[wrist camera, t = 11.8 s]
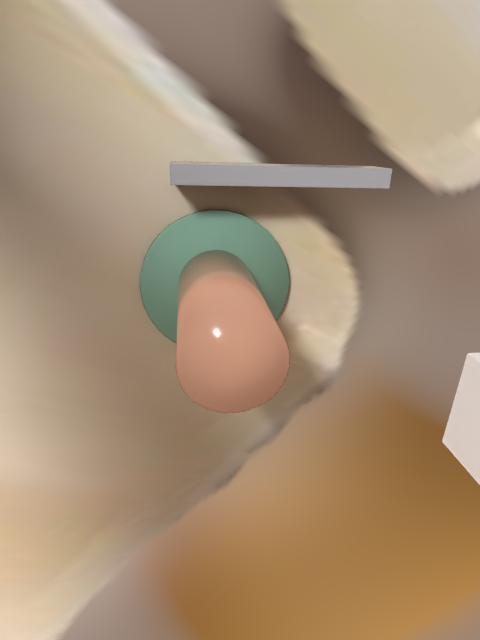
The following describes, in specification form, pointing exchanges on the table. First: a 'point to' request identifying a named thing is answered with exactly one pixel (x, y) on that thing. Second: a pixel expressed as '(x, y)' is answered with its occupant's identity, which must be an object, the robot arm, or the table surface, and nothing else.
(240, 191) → the table surface
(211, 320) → the peach rounded cylinder
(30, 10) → the table surface
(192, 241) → the pad
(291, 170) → the rail
